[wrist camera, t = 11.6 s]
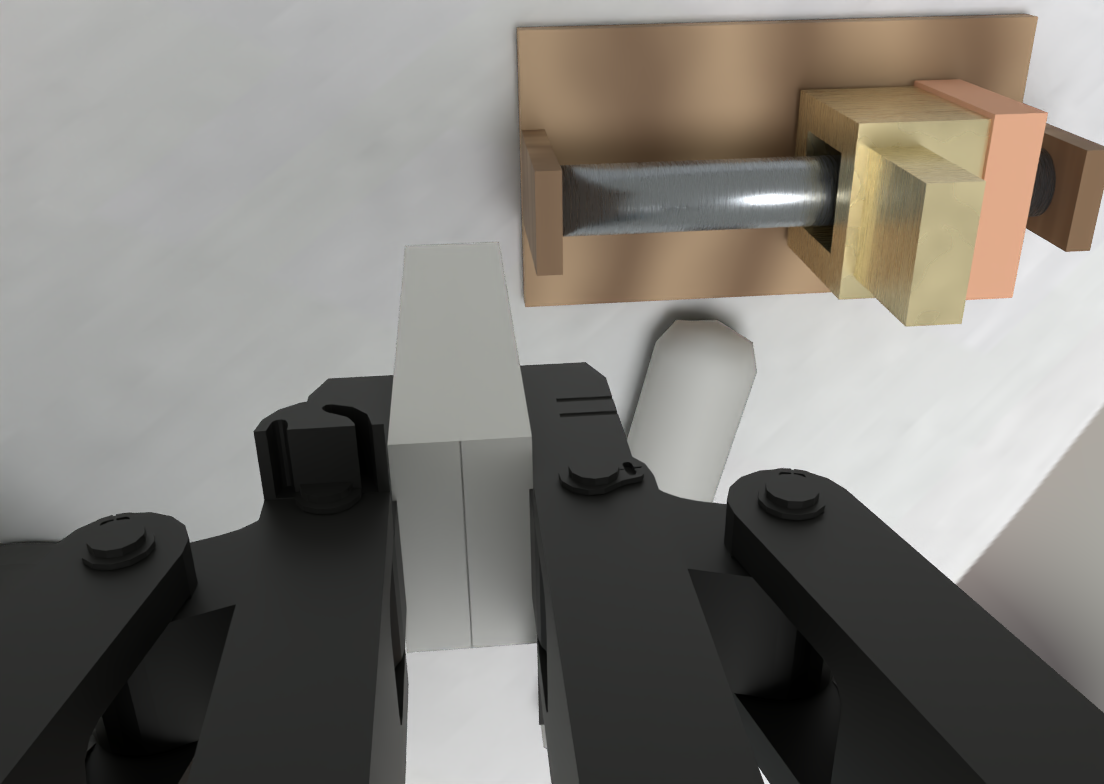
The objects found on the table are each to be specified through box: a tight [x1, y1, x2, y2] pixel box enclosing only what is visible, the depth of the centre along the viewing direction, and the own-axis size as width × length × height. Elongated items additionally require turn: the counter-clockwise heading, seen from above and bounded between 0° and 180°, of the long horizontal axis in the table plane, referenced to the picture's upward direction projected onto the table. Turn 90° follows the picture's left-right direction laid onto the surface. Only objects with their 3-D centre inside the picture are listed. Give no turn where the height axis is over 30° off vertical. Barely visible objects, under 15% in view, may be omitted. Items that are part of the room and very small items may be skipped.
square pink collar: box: [914, 79, 1048, 300], centre depth 43 cm, size 2×7×7 cm, turn 1°
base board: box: [517, 14, 1104, 307], centre depth 43 cm, size 22×12×8 cm, turn 91°
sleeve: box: [787, 86, 992, 326], centre depth 40 cm, size 5×7×12 cm
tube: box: [541, 320, 757, 749], centre depth 53 cm, size 5×5×25 cm
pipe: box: [560, 148, 1056, 237], centre depth 42 cm, size 21×3×3 cm, turn 91°
